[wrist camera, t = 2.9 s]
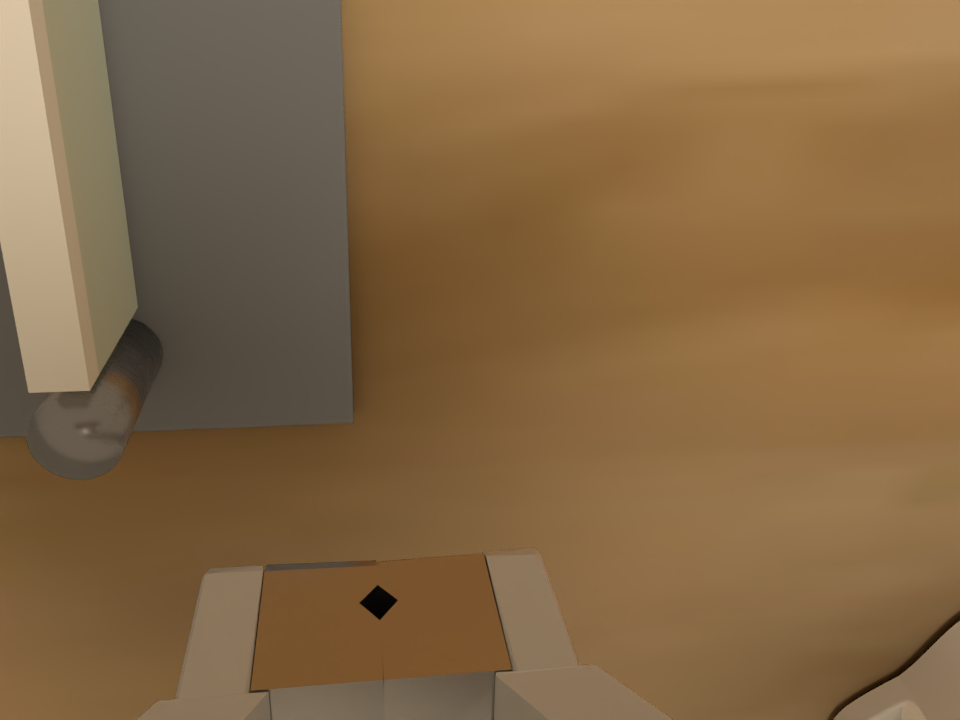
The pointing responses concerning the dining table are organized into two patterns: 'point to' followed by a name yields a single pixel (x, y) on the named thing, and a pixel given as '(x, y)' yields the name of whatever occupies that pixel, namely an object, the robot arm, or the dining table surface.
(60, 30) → the cream plank
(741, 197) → the dining table surface
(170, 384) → the yard mat
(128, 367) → the posts
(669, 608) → the dining table surface
